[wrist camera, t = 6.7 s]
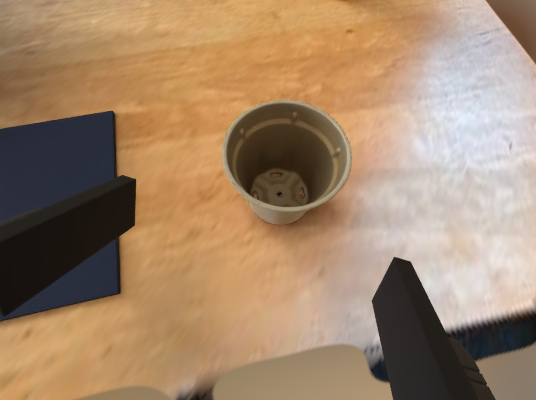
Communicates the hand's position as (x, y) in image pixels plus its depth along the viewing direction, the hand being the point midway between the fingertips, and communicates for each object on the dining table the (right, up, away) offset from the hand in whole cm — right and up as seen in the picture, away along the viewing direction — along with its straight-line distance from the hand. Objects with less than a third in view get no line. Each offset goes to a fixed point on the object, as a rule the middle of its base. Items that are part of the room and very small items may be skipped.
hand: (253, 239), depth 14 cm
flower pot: (+2, +2, +14) cm, 15 cm away
